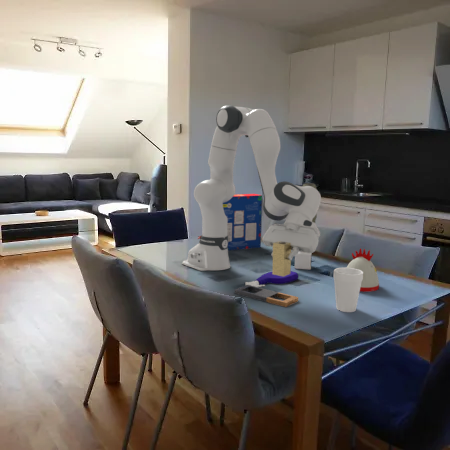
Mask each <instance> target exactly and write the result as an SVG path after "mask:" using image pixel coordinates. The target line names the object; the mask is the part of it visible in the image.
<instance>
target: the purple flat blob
mask: <svg viewBox="0 0 450 450" xmlns="http://www.w3.org/2000/svg"><path fill="white" fill-rule="evenodd" d="M298 279H299V274H298V273H297V272H296V271H292V270H291V272H290V274H289V275H286V276H284V277H283V276H278V275H274V274H272V271H269V272H266V273H264V274H262V275H260V276H259V277H258V278H256V279H254V280H253V281H245V285H244V286H246V285H251V286H255V287H259V288H262V287H266V285H267V284H274V285H283V284H289V283H292V282H295V281H298Z"/></svg>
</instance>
